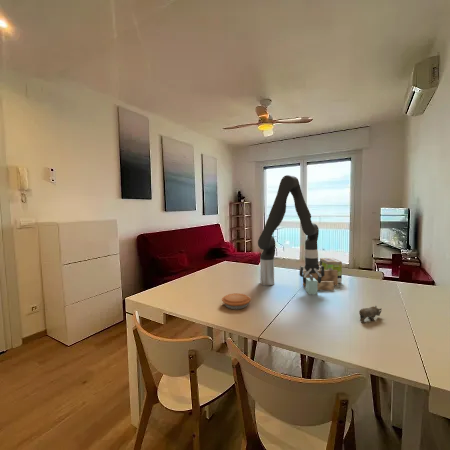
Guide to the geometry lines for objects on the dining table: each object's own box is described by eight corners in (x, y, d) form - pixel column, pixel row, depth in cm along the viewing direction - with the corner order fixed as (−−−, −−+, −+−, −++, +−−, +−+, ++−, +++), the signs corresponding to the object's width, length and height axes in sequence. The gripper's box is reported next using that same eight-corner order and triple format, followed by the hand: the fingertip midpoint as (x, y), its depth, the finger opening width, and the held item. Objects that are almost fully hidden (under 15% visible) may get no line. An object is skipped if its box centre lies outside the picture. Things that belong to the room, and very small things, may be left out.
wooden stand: (307, 290, 157) (307, 274, 157) (303, 285, 167) (303, 270, 167) (343, 289, 156) (343, 273, 156) (336, 284, 167) (336, 269, 166)
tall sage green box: (308, 294, 150) (308, 277, 149) (305, 290, 156) (305, 274, 156) (317, 294, 150) (317, 276, 149) (313, 290, 156) (313, 274, 155)
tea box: (342, 283, 170) (342, 261, 169) (327, 283, 170) (327, 261, 169) (333, 277, 185) (333, 257, 184) (319, 277, 185) (319, 257, 184)
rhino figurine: (386, 318, 115) (386, 305, 115) (364, 324, 110) (364, 311, 109) (377, 315, 119) (377, 302, 118) (356, 320, 114) (356, 307, 113)
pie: (230, 313, 125) (230, 303, 125) (217, 303, 139) (216, 294, 138) (256, 307, 132) (256, 298, 132) (241, 298, 146) (241, 290, 145)
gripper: (301, 258, 148) (302, 285, 149) (325, 257, 147) (326, 284, 148) (297, 255, 155) (298, 281, 156) (321, 255, 155) (321, 281, 156)
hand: (312, 283), depth 152 cm, fingers open, 8 cm apart
